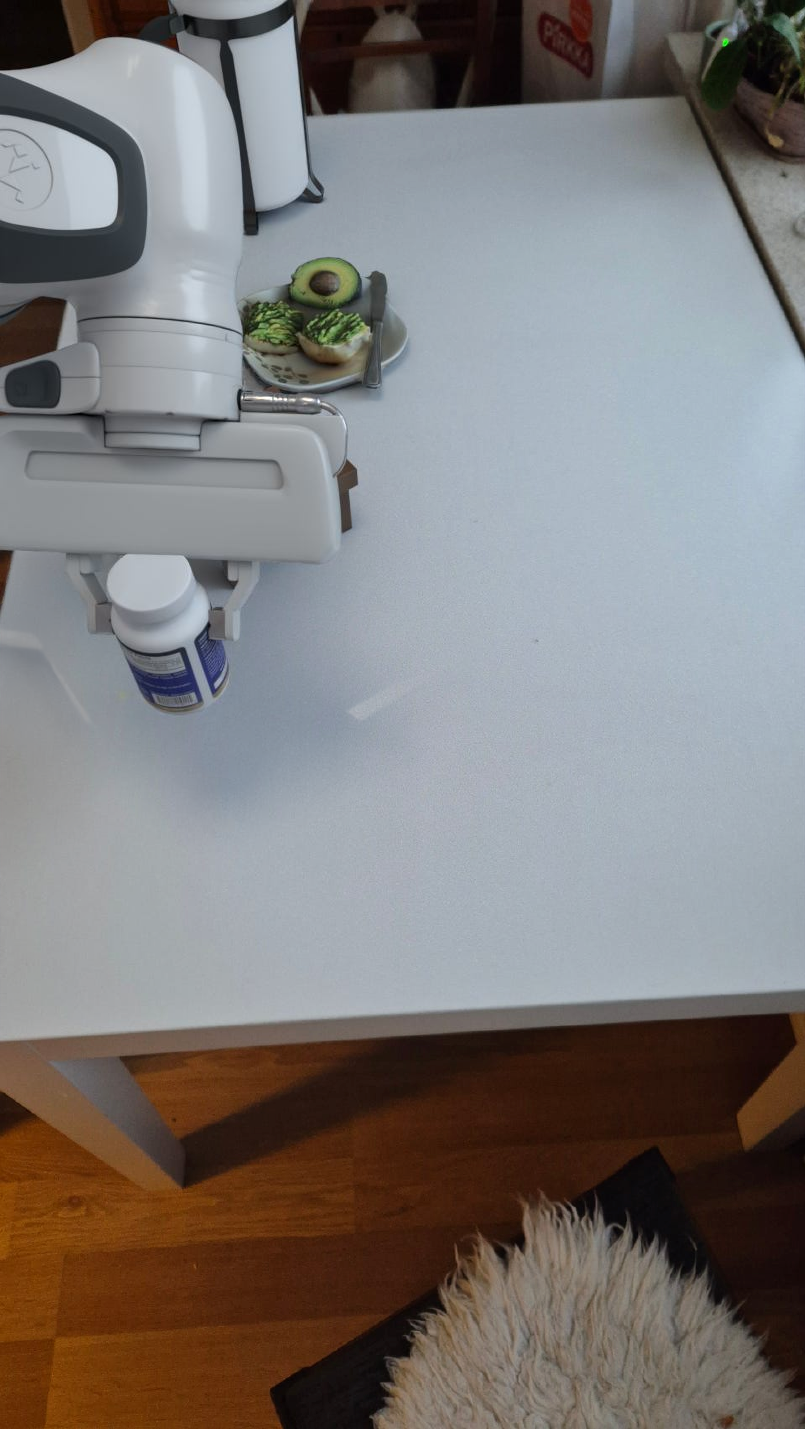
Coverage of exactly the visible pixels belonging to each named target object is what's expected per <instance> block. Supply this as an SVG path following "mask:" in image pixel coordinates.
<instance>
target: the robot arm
mask: <svg viewBox="0 0 805 1429" xmlns="http://www.w3.org/2000/svg"><path fill="white" fill-rule="evenodd" d="M243 256H244V211H243V194H242V174H241V161H240V151H239V143H238V136H237V130H236V125H235V121H234V117H233V113H232V110H231V107H230V104H229V101H228V99H227V97H226V95H225V93H224V91H223V89H222V87H221V86H220V84H219V83H218V81H217V80H216V79H215V78H214V77H213V76H212V75H211V74H210V73H209V72H208V71H207V70H205V69H204V68H203V67H202V66H201V65H199V64H198V63H197V62H195V61H194V60H193V59H191V58H189V57H188V56H186V55H184V54H183V53H181V52H179V51H178V49H175V48H172V47H170V46H168V45H166V44H163V43H162V44H160V43H157V42H153V41H149V40H141V39H137V37H129V36H111V37H104V38H101V39H97V40H96V41H94V42H93V43H91V44H90V46H88V47H87V48H85V49H83V50H82V51H80V52H78V53H77V54H74V55H73V56H70V57H68V58H65V59H62V60H59V61H55V62H53V63H49V64H44V65H41V66H35V67H31V68H22V69H11V70H0V326H1V325H3V324H5V323H8V322H9V321H11V320H12V319H14V318H15V317H16V316H17V315H18V314H20V313H21V312H22V311H23V309H25V308H26V307H27V305H29V303H30V302H31V301H33V300H36V299H38V298H40V297H45V298H54V299H60V300H64V301H66V302H67V303H69V304H70V305H71V307H73V309H74V312H75V317H76V318H75V319H76V321H75V322H76V343H72V344H70V345H67V346H65V347H61V348H59V349H56V350H54V351H50V352H47V353H43V354H41V355H38V356H35V357H32V358H29V359H25V360H22V361H18V362H15V363H12V364H8V365H5V366H2V367H0V412H2V413H4V414H3V415H0V551H20V552H37V553H39V552H41V553H59V554H60V553H62V554H63V553H65V567H66V569H65V574H66V575H67V577H68V578H69V580H70V582H71V583H72V585H73V587H74V589H75V590H76V592H77V593H78V595H79V596H80V598H81V600H82V601H83V603H84V604H85V605H86V614H87V615H86V618H87V631H88V633H89V634H90V635H101V636H102V635H104V636H105V635H106V636H116V635H115V633H114V630H113V627H112V624H111V609H112V605H113V604H112V602H111V600H109V597H108V596H107V594H106V592H105V591H104V589H103V587H102V585H101V583H100V581H99V579H98V577H97V576H96V573H101V572H102V571H104V556H105V555H106V556H108V555H109V556H125V555H126V554H147V555H182V556H184V557H185V558H186V559H191V560H192V559H193V560H194V559H195V560H213V561H221V560H228V579H229V580H230V581H237V580H238V583H237V585H236V587H235V588H234V587H233V590H232V592H231V594H230V595H229V597H228V599H227V601H226V602H225V604H224V606H215V607H212V609H210V610H208V622H209V623H210V625H211V626H210V628H209V629H208V635H209V639H210V640H220V641H222V642H236V641H238V640H239V639H240V635H241V609H243V608H244V606H245V605H246V603H247V601H248V600H249V598H250V596H251V595H252V593H253V592H254V590H255V588H256V587H257V584H258V583H259V581H260V579H261V563H278V564H279V563H281V564H298V565H299V564H301V565H323V564H326V563H328V562H329V561H331V560H332V559H333V558H334V557H335V556H336V555H337V554H338V552H339V551H340V549H341V546H342V534H341V511H340V499H339V490H338V482H337V475H338V474H339V473H340V472H341V470H342V469H343V467H344V465H345V462H346V459H348V438H349V430H348V424H347V421H346V418H345V417H344V415H343V414H342V412H341V411H340V409H339V408H338V407H336V406H335V405H333V404H332V403H329V402H327V401H324V400H323V399H322V396H321V395H320V394H311V393H300V392H296V393H294V394H291V393H290V394H289V393H282V392H281V393H282V394H281V393H280V394H279V393H274V392H264V391H263V390H243V357H244V356H243V349H242V348H243V331H242V324H241V319H240V316H239V313H238V308H237V303H238V302H237V281H238V275H239V270H240V267H241V264H242V262H243ZM323 410H324V411H326V412H329V414H321V413H322V411H323ZM274 412H275V413H274ZM279 412H294V413H297V414H284V413H279ZM228 579H227V580H228Z"/></svg>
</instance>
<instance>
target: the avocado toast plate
mask: <svg viewBox="0 0 805 1429" xmlns="http://www.w3.org/2000/svg"><path fill="white" fill-rule="evenodd" d="M290 278H291V282H289V283H287V284H284V285H280V286H275V287H272V288H268V289H265V290H260V291H257V292H255V293H252V294H249V295H247V296H245V297H243V298H242V299H241V300H239V301H237V302H236V303H237V308H238V313H239V316H240V319H241V324H242V331H243V348H242V349H243V356H242V357H243V358H244V359H245V361H246V362H247V364H248V366H249V367H250V369H251V370H253V371H254V373H256V375H258V377H259V378H260V380H261V381H262V382H263V383H266V384H267V385H270V386H271V387H272V386H275V387H276V388H277V389H278V390H283V391H287V392H292V393H311V394H316V395H320V394H327V393H331V392H334V391H337V390H340V389H342V388H344V387H347V386H349V385H353V384H356V383H360V382H361V383H362V386H363V387H364V388H365V389H370V390H375V389H378V388H380V387H381V385H382V379H383V376H382V374H383V371H384V369H386V368H387V367H389V365H391V364H392V363H393V362H395V361H396V360H397V359H398V358H399V357H400V356H401V354H402V352H403V350H404V349H405V347H406V345H407V343H408V341H409V328H408V326H407V325H406V323H405V321H404V319H402V318H401V316H400V315H399V313H398V312H397V311H396V310H395V309H394V307H393V306H392V305H391V304H390V303H389V302H388V301H387V297H386V295H387V292H388V282H387V278H386V274H384V273H383V272H380V271H378V270H374V271H371V273H370V275H368V276H363V275H360V272H359V271H358V270H357V268H356V267H355V266H354V265H353V264H352V263H350V262H349V261H347V260H346V259H343V258H340V257H334V256H333V257H331V256H326V257H324V256H323V257H319V258H314V259H311V260H309V261H306V262H304V263H302V264H300V265H298V267H297V268H296V269H295V271H294V272H293V273H292V274H290Z"/></svg>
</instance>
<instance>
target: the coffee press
mask: <svg viewBox="0 0 805 1429" xmlns="http://www.w3.org/2000/svg"><path fill="white" fill-rule="evenodd" d="M167 4H168V9H169V14H166V15H165V16H163V15H158V16H157V17H155V18H153V19H152V20H150V21H149V22H148V23H146V25H145V26H144V27H143V28H142V29H141V30H140V31H139V33H138V34H137V37H136V39H141V40H149V41H153V42H157V43H160V44H163V43H164V42H166V41H167V40H169V39H171V37H172V36H174V37H175V42H176V48H177V51H179V52H181V53H183V54H184V55H186V56H188V57H189V58H191V59H193V60H194V61H195V62H197V63H198V64H199V65H201V66H202V67H203V68H204V69H205V70H207V71H208V72H209V73H210V74H211V75H212V76H213V77H214V78H215V79H216V80H217V81H218V83H219V84H220V86H221V87H222V89H223V91H224V93H225V95H226V97H227V99H228V101H229V104H230V107H231V110H232V113H233V117H234V121H235V125H236V130H237V136H238V143H239V151H240V161H241V174H242V194H243V229H244V233H245V234H259V230H260V212H266V211H272V210H275V209H279V208H281V207H284V206H287V205H288V204H290V203H292V202H293V201H295V200H296V199H298V198H299V197H300V196H301V195H305V196H306V197H307V198H308V199H309V200H310V201H312V203H315V204H319V203H322V201H323V200H324V196H325V187H324V185H322V183H321V182H320V181H319V180H318V179H317V176H316V175H315V173H314V172H313V166H312V159H311V158H312V154H311V147H310V146H311V145H310V136H309V135H310V134H309V126H308V116H307V115H308V114H307V106H306V95H305V94H306V93H305V84H304V75H303V65H302V63H303V62H302V54H301V44H300V35H299V34H300V33H299V24H298V16H297V6H296V5H297V4H296V0H167ZM309 181H311V183H312V184H313V186H314V187H315V188H316V189H317V191H318V192H319V193H320V194H319V195H317V194H315V193H314V192H313V191H312V190H310V189H309V188H308V187H307V186H308V184H309Z"/></svg>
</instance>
